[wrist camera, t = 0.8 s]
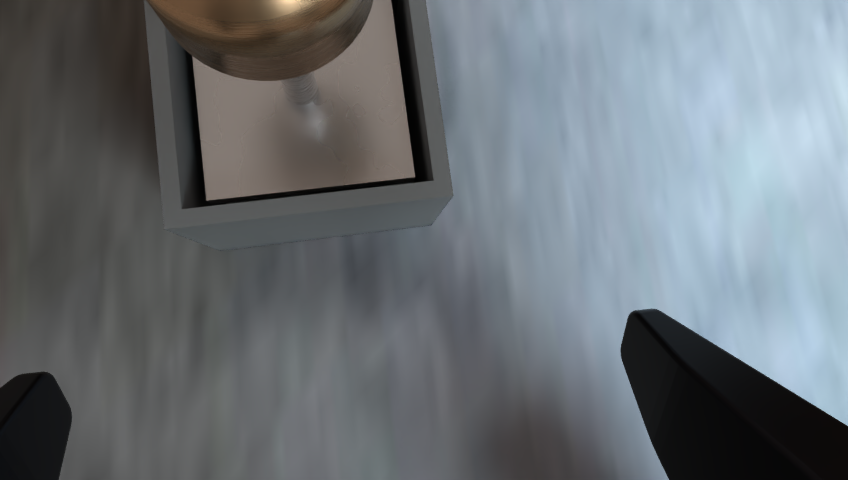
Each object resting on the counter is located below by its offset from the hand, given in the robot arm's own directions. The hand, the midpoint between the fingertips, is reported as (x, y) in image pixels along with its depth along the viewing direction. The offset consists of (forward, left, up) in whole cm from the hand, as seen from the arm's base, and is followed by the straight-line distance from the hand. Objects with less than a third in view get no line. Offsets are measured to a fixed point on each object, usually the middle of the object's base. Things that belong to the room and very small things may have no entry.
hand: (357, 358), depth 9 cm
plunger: (+7, +4, -8) cm, 11 cm away
